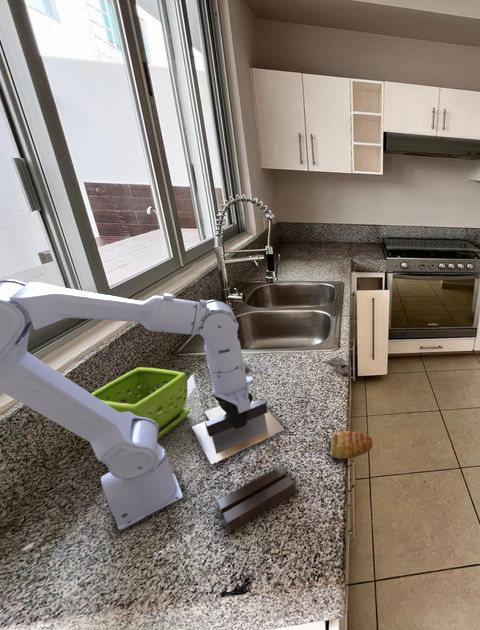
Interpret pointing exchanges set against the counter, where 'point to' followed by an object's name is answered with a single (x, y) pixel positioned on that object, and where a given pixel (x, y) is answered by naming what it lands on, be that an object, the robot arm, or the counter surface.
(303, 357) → the counter surface
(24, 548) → the counter surface
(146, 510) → the robot arm
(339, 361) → the meat cleaver
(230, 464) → the counter surface
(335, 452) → the pastry
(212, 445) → the cake board
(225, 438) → the knife
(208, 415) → the cake back
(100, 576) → the counter surface
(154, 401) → the flower pot
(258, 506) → the stand
